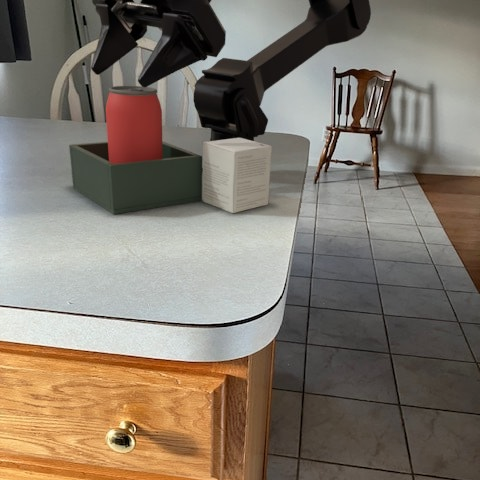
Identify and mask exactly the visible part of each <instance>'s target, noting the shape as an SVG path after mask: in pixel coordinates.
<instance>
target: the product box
mask: <svg viewBox="0 0 480 480" xmlns="http://www.w3.org/2000/svg"><path fill="white" fill-rule="evenodd" d="M272 151H273V147H272V146H271V145H270V144H266V143H262V142H258V141H255V140H254V141H251V140H247V139H243V138H233V139H225V140H217V141H210V140H207V141H203V142H202V168H203V172H202V196H201V197H202V200H201V201H202V202H203V203H206V204H208V205H210V206H214V207H216V208H218V209H220V210H223V211H226V212H228V213H231V214H235V213H239V212H243V211H247V210H252V209H255V208H259V207H263V206H268V204H269V198H270V197H269V196H270V195H269V193H270V183H271V182H270V180H271V166H272V153H273V152H272Z"/></svg>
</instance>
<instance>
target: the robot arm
mask: <svg viewBox="0 0 480 480" xmlns="http://www.w3.org/2000/svg"><path fill="white" fill-rule="evenodd" d="M211 2H212V0H140V2H135V1H134V0H91V3H92V5H94V7H95V12H96V14H97V15H98V16H99V20H100V24H101V27H100V32H99V37H98V41H97V44H96V48H95V51H94V56H93V59H92V62H91V66H90V70H91V71H92V73H94V74H95V75H97V76H99V75H101V74H102V73H104V72H105V71H107V70H108V69H110V67H112V66H113V65H115V64H116V63H117V62H119V61H120V60H121V59H123V57H125V56H126V55H128V54H129V53H130V52H132V51H133V50H134V49H135V48H136V47H138V46H139V44H138V41H139V40H141V39H143V38H144V36H145V35H146V33H147V32H148V27H153V28H158V29H159V30H160V31H161V36H160V38H159V40H158V42H157V43H156V44H155V47H154V48H153V50H152V52H151V53H150V55H149V57H148V59H147V61H146V62H145V64H144V66H143V68H142V70H141V72H140V73H139V76H138V78H137V82H138V84H139V85H140V86H141V87H149V86H151V85H153V84H155V83H156V82H158V81H160V80H162V79H164V78H166V77H168V76H171V75H172V74H174V73H176V72H178V71H179V70H182V69H185V68H186V67H189V66H191V65H194V64H195V63H198V62H200V61H204V62H205V61H206V60H207V59H208V57H213V58H217V57H218V56H219V54H220V53H221V52H222V50H223V48H224V47H225V46H226V38H227V37H226V36H227V30H226V29H225V28H224V26H223V24H222V22H221V21H220V19H219V17H218V16H217V14H216V12H215V10H214V8H213V7H212V5H211ZM370 3H371V2H370V0H308V4H309V8H308V11H307V14H306V18H305V19H304V21H302V22H301V23H299V24H298V25H297V26H294V28H292V29H291V30H289V31H288V32H286V33H285V34H283V35H282V36H281V37H279V38H277V39H276V40H275V41H273V42H272V43H271V44H269V45H268V46H266V47H265V48H263V49H262V50H260V51H259V52H257V53H256V54H255V55H253V56H251V57H250V58H249V59H247V60H243V59H236V58H228V57H222V58H221V59H219V60H218V61H216V62H215V63H214V64H213V65H212V66H210V67H209V68H208V69H201V73H202V74H203V75H202V76H200V77H199V78H198V79H197V81H196V82H195V83H194V90H193V104H194V109H195V110H196V112H197V115H198V119H199V122H200V126H201V128H203V129H209V130H210V139H209V141H217V140H225V139H233V138H243V139H247V140H251V141H255V138H257V137H259V136H263V135H265V132H266V130H267V126H268V123H269V118H268V117H267V116H266V113H265V112H264V111H263V109H262V108H261V106H262V103H263V99H264V95H265V93H266V92H267V90H269V89H271V88H272V87H273V86H274V85H276V84H277V83H278V82H280V81H281V80H282V79H284V78H285V77H287V76H288V75H289V74H291V73H292V72H293V71H295V70H296V69H298V68H299V67H300V66H302V65H303V64H304V63H305V62H307V61H308V60H309V59H311V58H313V57H314V56H315V55H317V54H318V53H319V52H321V51H322V50H324V49H325V48H326V47H328V46H333V45H337V44H341V43H345V42H346V43H347V42H349V41H352V40H355V39H357V38H359V37H360V36H362V35H363V34H364V33H365V31H366V30H367V28H368V25H369V23H370V20H371V17H372V16H371V15H372V12H371V11H372V10H371V9H372V8H371V4H370ZM202 173H203V167H202Z"/></svg>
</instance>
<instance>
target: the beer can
mask: <svg viewBox="0 0 480 480" xmlns="http://www.w3.org/2000/svg"><path fill="white" fill-rule="evenodd" d="M108 91H109V94H108V97H107V100H106V105H105V120H106V121H105V122H106V135H107V137H106V138H107V142H108V153H109V162H111V163H113V164H118V163H128V162H137V161H147V160H156V159H163V150H162V141H163V110H162V105H161V101H160V99H159V97H158V94H157V93H158V90H157V88H155V87H149V86H147V87H142V86H141V85H140V86H139V85H115V86H110V87H109V88H108Z"/></svg>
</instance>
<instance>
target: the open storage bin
mask: <svg viewBox="0 0 480 480" xmlns="http://www.w3.org/2000/svg"><path fill="white" fill-rule="evenodd" d="M68 147H69V148H68V149H69V158H70V167H71V179H72V189H74V190H75V191H77V192H78V193H79V194H81V195H83V196H85V197H86V198H87V199H89V200H90V201H92V202H94V203H95V204H97V205H98V206H100V207H102V208H103V209H105V210H106V211H108V212H110V213H111V214H112V215H119V214H125V213H132V212H138V211H143V210H144V211H145V210H150V209H157V208H162V207H163V208H164V207H169V206H176V205H182V204H187V203H194V202H199V201H200V202H201V201H203V200H202V175H203V172H202V168H203V155H201V154H197V153H195V152H193V151H189V150H187V149H184V148H182V147H179V146H176V145H175V144H171V143H169V142H166V141H164V140H162V150H163V159H156V160H147V161H137V162H128V163H118V164H113V163H111V162H109V153H108V141H97V142H85V143H76V144H73V143H72V144H69V145H68Z"/></svg>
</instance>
